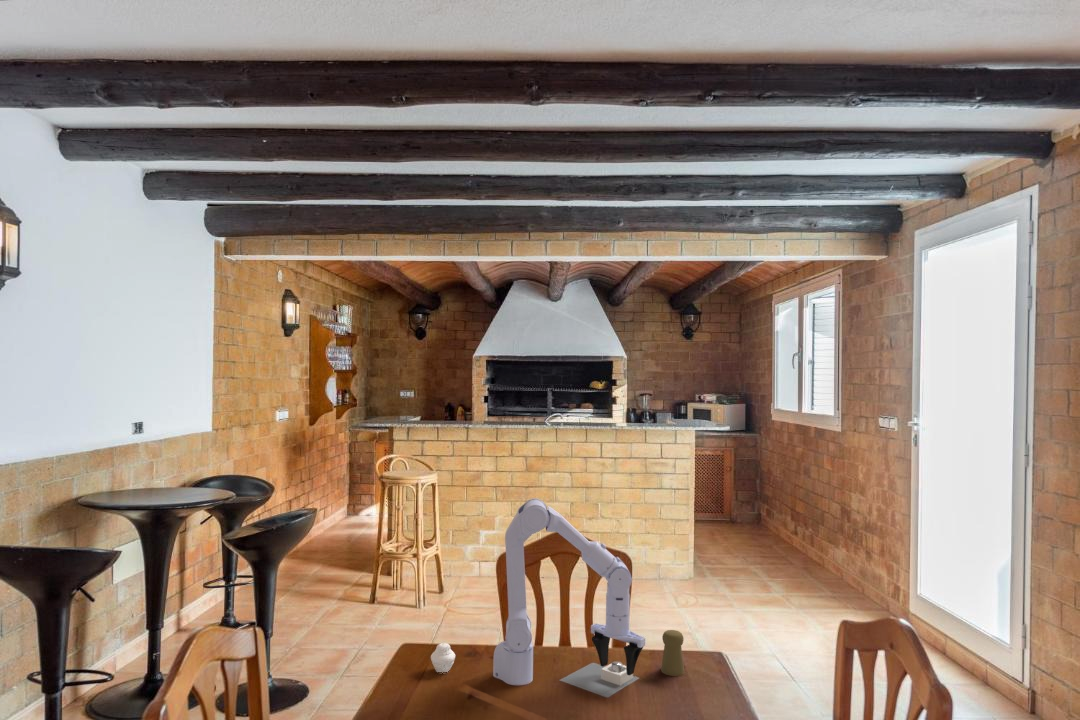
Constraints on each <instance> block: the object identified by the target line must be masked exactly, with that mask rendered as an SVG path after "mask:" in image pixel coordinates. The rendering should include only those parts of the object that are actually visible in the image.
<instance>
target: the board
mask: <svg viewBox="0 0 1080 720" xmlns="http://www.w3.org/2000/svg"><path fill="white" fill-rule="evenodd" d="M604 667H606V665H605V666H603V667H602V666H601V664H600V663H599V664H598V663H596V662H591V663H589V664H587V665H585V666H583V667H582V668H579V669H578V670H576V671H574V672H572V673H570V674H568V675H566V676H565V677H562V678H561V679H559V681H560V682H563V683H566V684H567V685H571V686H574V687H576V688H579V689H581V690H585V691H587V692H590V693H593V694H596V695H599V696H601V697H604V698H610V697H611V696H612V695H615V694H616V693H618V692H620V691H621V690H622V689H624V688H626V687H629V685H631V684H633V683H634V682H636V681H638V680H639V679H640V677H638V676H636V675H635V676H634V675H633V678H632V679H631V680H629V681H627V682H626V683H624V684H622V685H621V686H620V685H617V684H614V683H611V682H608V681H605V680H602V679H601V669H602V668H604Z"/></svg>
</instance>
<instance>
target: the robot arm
mask: <svg viewBox="0 0 1080 720" xmlns="http://www.w3.org/2000/svg"><path fill="white" fill-rule="evenodd" d="M512 518H513V519H512V520H511V522H510V523H509V525H508V527H507V529H506V530H505V536H504V541H505V542H504V543H505V560H506V563H505V564H506V565H505V566H506V584H507V586H506V587H507V588H506V589H507V605H508V606H507V609H508V617H507V620H506V622H505V630H506V631H505V638H504V639H505V640H504V641H500V642H499V643H498V644H497V645H496V646H495V649H494V652H493V661H492V662H493V663H492V665H493V666H492V667H493V670H492V673H493V674H492V676H493V677H494V678H495V679H498V680H501V681H502V682H504V683H506V684H508V685H512V686H524V685H528V684H530V683H532V682H533V679H534V677H533V676H534V643H533V641H532V640H533V635H532V634H533V633H532V621H531V619H530V617H529V615H528V611H527V610H528V609H527V607H528V606H527V592H526V591H527V590H526V589H527V588H526V585H527V584H526V570H525V546H524V544H525V542H526V541H527V540H528V539H529V538H530V537H531V536H532V535H534V534H536V533H538V532H541V531H543V530H544V529H545V531H546V532H547V533H552V532H553V533H558V534H559V535H560V536H561V537H563V539H565V540H566V541H568V543H570V544H571V545H572V546H574V547H575V548H576V549H577V550H578V551H579V552H581V560H582V561H583V562H584V563H585V564H586V565H587V566H589V567H590V568H591V569H592V570H593V571H594V572H596V573H597V574H598V575H599V576H600V577H601V578H605V579H606V581H607V583H606V594H605V624H599V623H594V624H591V625H590V633H591V634H593V636H592V637H591V642H592V644H593V646H594V648H595V649H596V653H597V656H598V659H599V665H601V666H602V667H603V666H605V667H606V666H607V665H609V664H608V663H609V648H610V647H609V646H610V641H611V639H612V640H613V639H615V640H617V641H621V642H624V643H627V645H625V646H623V650H624V654H625V660H626V663H625V666H626V671H627V675H631V674H633V675H634V672H635V668H636V666H637V665H636V664H637V661H638V659H639V656H640V655H641V652H642V651H643V649H644V647H645V646H646V637H644V636H641V635H639V634H637V633H636V632H634V631H631V630H630V597H631V596H630V587H631V585H632V583H633V578H632V574H631V572H630V570H629V569H628V567H627V565H626V564H625V563H624V561H623V560H621V558H620V557H619V556H614V554H612V553H611V552H610V551H609V550H608V549H607V545H606V543H604V542H599V541H597V540H595V541H593V540H592V541H589V540H588V539H587V538H586V537H585V536H584V535H583V534H582V533H581V532H580V531H579V530H578V529H576V527H575V526H573V525H572V523H570V522H569V521H568V520H567V519H566V518H565V517H563V515H562V514H561V513H559V512H558V511H557V510H555V509H554V508H553V507H551V506H550V505H546V503H545V502H544V501H543V500H542V499H539V498H530V499H528V500H527V501H525V502H524V503H523V504H522V505H521V506H519V508H518V509H517V511H516V513H515V515H514V517H512Z"/></svg>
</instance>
